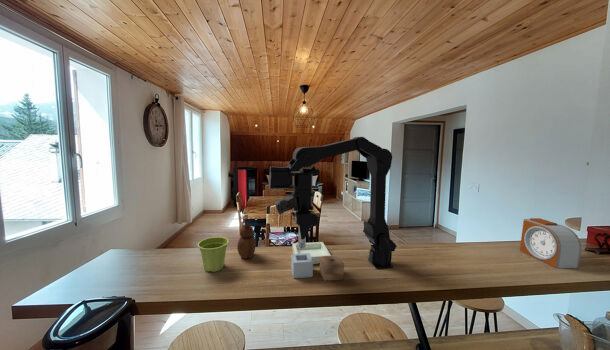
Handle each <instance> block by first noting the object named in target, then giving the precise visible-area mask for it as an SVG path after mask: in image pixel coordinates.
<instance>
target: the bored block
mask: <svg viewBox="0 0 610 350" xmlns="http://www.w3.org/2000/svg"><path fill="white" fill-rule="evenodd" d="M290 259H291V260H290V261H291V262H290V265H291V266H290V269H291V274H292V278H293V279H301V278H303V279H304V278H312V277H314V275H313V273H314V264H313V260H312V258H311V256H310V253H300V254H293V253H291V257H290Z"/></svg>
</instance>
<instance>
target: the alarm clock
mask: <svg viewBox="0 0 610 350" xmlns="http://www.w3.org/2000/svg"><path fill="white" fill-rule="evenodd" d="M519 246H520V247H519V251H520V252H522V253H524V254H526V255H528V256H530V257H533V258H534V259H537V260H538V261H541V262H543V263H545V264H547V265H549V266H551V267H553V268H556V269H578V268H579V267H580V261H581V255H582V242H581V239H580V238H579V236H578V235H577V234H576V232H574V231H573V230H572V229H571V228H569V227H567V226H565V225H561V224H558V223H556V222H553V221H550V220H547V219H543V218H537V217H536V218H535V217H534V218H533V217H530V218H524V219H523V223H522V231H521V237H520V245H519Z"/></svg>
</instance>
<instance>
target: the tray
mask: <svg viewBox="0 0 610 350" xmlns="http://www.w3.org/2000/svg"><path fill="white" fill-rule="evenodd" d="M291 250H292V254H300V253H310V256H311V258H312V260H313V265H320V264H319V263H320V256H332V255H331V253H330V251H329V250H328V249H327V246H326V245H325V244H324V241H316V242H306V247H305V248H299V242H296V243H292V249H291Z"/></svg>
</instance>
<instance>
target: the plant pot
mask: <svg viewBox="0 0 610 350" xmlns="http://www.w3.org/2000/svg"><path fill="white" fill-rule="evenodd" d="M229 243H230V242H229V239H228V238H227V237H223V236H214V237H207V238H205V239H202V240H200V241H199V242H198V243H197V247H198V248H199V251H200V253H201V259H202V264H203V265H202V266H203V269H204V271H206V272H214V273H216V272H218V271H220V270H222V269H223V268H224V266H225V258H226V251H227V247H228V244H229Z"/></svg>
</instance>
